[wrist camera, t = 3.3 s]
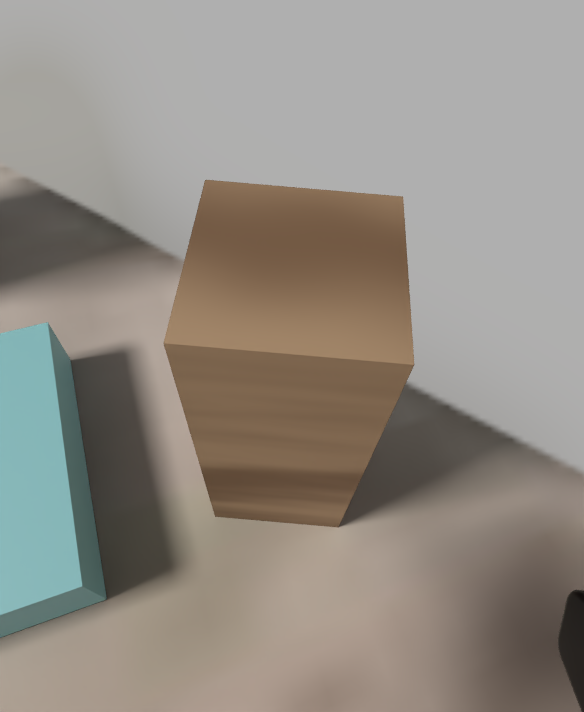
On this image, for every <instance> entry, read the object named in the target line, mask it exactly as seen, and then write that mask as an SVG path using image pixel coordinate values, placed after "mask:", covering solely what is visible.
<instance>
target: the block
mask: <svg viewBox="0 0 584 712" xmlns="http://www.w3.org/2000/svg"><path fill="white" fill-rule="evenodd" d="M406 250H407V249H406V234H405V219H404V204H403V197H401V196H389V195H378V194H365V193H354V192H342V191H331V190H319V189H307V188H295V187H284V186H272V185H259V184H248V183H237V182H224V181H213V180H205V183H204V187H203V191H202V195H201V198H200V202H199V206H198V210H197V214H196V218H195V222H194V226H193V230H192V234H191V238H190V242H189V245H188V249H187V253H186V257H185V261H184V265H183V269H182V273H181V277H180V281H179V285H178V289H177V293H176V296H175V300H174V304H173V308H172V312H171V316H170V320H169V324H168V328H167V332H166V336H165V340H164V346H165V350H166V353H167V356H168V360H169V363H170V366H171V370H172V373H173V377H174V380H175V383H176V387H177V390H178V393H179V397H180V400H181V403H182V407H183V410H184V413H185V417H186V420H187V424H188V427H189V430H190V434H191V437H192V440H193V444H194V447H195V450H196V454H197V457H198V460H199V464H200V467H201V470H202V474H203V477H204V481H205V484H206V487H207V491H208V494H209V497H210V501H211V504H212V507H213V511H214V514H215V517H226V518H238V519H249V520H261V521H272V522H284V523H295V524H307V525H318V526H330V527H339V525H340V523H341V520H342V518H343V516H344V514H345V512H346V510H347V508H348V505H349V503H350V501H351V499H352V497H353V495H354V493H355V490H356V488H357V486H358V484H359V482H360V480H361V478H362V475H363V473H364V471H365V469H366V467H367V465H368V463H369V461H370V458H371V456H372V454H373V452H374V450H375V448H376V446H377V443H378V441H379V439H380V437H381V435H382V433H383V431H384V428H385V426H386V424H387V422H388V420H389V418H390V416H391V413H392V411H393V409H394V407H395V405H396V403H397V401H398V398H399V396H400V394H401V392H402V390H403V388H404V386H405V384H406V381H407V379H408V377H409V375H410V373H411V371H412V368H413V366H414V355H413V339H412V324H411V309H410V294H409V279H408V264H407V251H406Z"/></svg>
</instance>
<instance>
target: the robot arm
mask: <svg viewBox="0 0 584 712" xmlns="http://www.w3.org/2000/svg"><path fill="white" fill-rule="evenodd" d="M558 646H559V652H560V656H561V659H562V661H563V664H564V667H565V669H566V672H567V674H568V677H569V680H570V682H571V685H572V687H573V690H574V693H575V695H576V698H577V700H578V703H579V706H580V708H581V711H582V712H584V591H582V590H574V591H572V592H571V593H570V594H569V596H568V598H567V601H566V606H565V610H564V614H563V619H562V623H561V627H560V632H559V637H558Z"/></svg>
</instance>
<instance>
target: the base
mask: <svg viewBox="0 0 584 712" xmlns="http://www.w3.org/2000/svg"><path fill="white" fill-rule="evenodd" d="M106 599H107V597H106V590H105V584H104V577H103V571H102V564H101V558H100V551H99V545H98V538H97V531H96V525H95V518H94V512H93V505H92V499H91V492H90V486H89V479H88V472H87V466H86V459H85V453H84V446H83V440H82V433H81V426H80V420H79V413H78V407H77V400H76V394H75V387H74V381H73V374H72V367H71V361H70V358H69V357H68V355H67V353H66V352H65V350H64V348H63V347H62V345H61V344H60V342H59V340H58V339H57V337H56V335H55V334H54V332H53V330H52V329H51V327H50V325H49V324H48V322H47V323H43V324H39V325H34V326H30V327H26V328H22V329H18V330H13V331H9V332H5V333H1V334H0V638H1V637H4V636H6V635H9V634H12V633H15V632H17V631H20V630H23V629H26V628H29V627H31V626H34V625H37V624H40V623H42V622H45V621H48V620H51V619H54V618H56V617H59V616H62V615H65V614H68V613H70V612H73V611H76V610H79V609H81V608H84V607H87V606H90V605H93V604H95V603H98V602H101V601H104V600H106Z"/></svg>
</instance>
